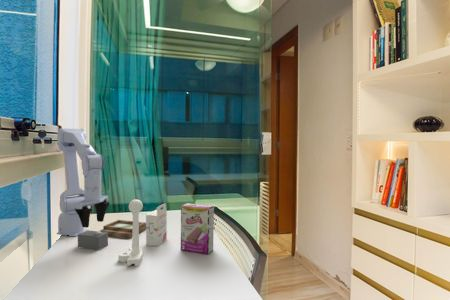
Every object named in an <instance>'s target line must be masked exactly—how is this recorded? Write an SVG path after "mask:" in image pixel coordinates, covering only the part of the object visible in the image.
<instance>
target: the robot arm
mask: <svg viewBox="0 0 450 300" xmlns="http://www.w3.org/2000/svg"><path fill="white" fill-rule="evenodd" d="M56 138H57V139H56V140H57V147H58V149H59V151H62V154H63V160H64V161H63V162H64V170H65V171H64V172H65V173H64V174H65V182H66V190H64V191H63V192H61V194H60V196H59V209H60V212H61V213H60V214H59V216H58V217H57V218H58V219H57V224H58V225H57V229H58V232H57V233H56V235H61V236H67V235H69V237H78V234H80V233H82V232H85V231H87V230H89V229H86V228H89V227H90V217H91V213H92V210H93V209H92V208H89V207H90V206H94V208H95V211H96V220H97V222H100V223H101V222H103V221H104V219H105V215H106V211H107V210H108V207H109V206H110V202H109V195H102V170H103V169H104V167H105V158H104V156H103V154H100V153H97V152H96V150H95V149H94V147H93V146H92V145H91V144H90V143H87V133H86V130H85V129H84V128H63V127H60V128H59V129H58V130H57V135H56ZM77 155H78V157H79V158H80V161H81V168H82V169H81V170H82V175H83V176H84V177H83V179H84V180H83V183H84V185H83V186H84V189H83V188H81V187H80V178H79V177H80V176H79V169H78V158H77Z"/></svg>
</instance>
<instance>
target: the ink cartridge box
mask: <svg viewBox="0 0 450 300" xmlns="http://www.w3.org/2000/svg"><path fill="white" fill-rule="evenodd" d="M167 211H168V210H167V203H166V202H164V203H163V204H161V205H159V206H157V207H156V209H155V210H152V211H151V212H149V213H147V214H145V223H146V230H145V232H146V233H145V235H146V236H145V241H146V242H145V244H146V246H151V247H153V246H154V247H159V246H160V245H161V244H162V243H163V242H164V241H165V240H167V233H168V231H167V225H168V223H167V216H168V215H167V213H168V212H167Z"/></svg>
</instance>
